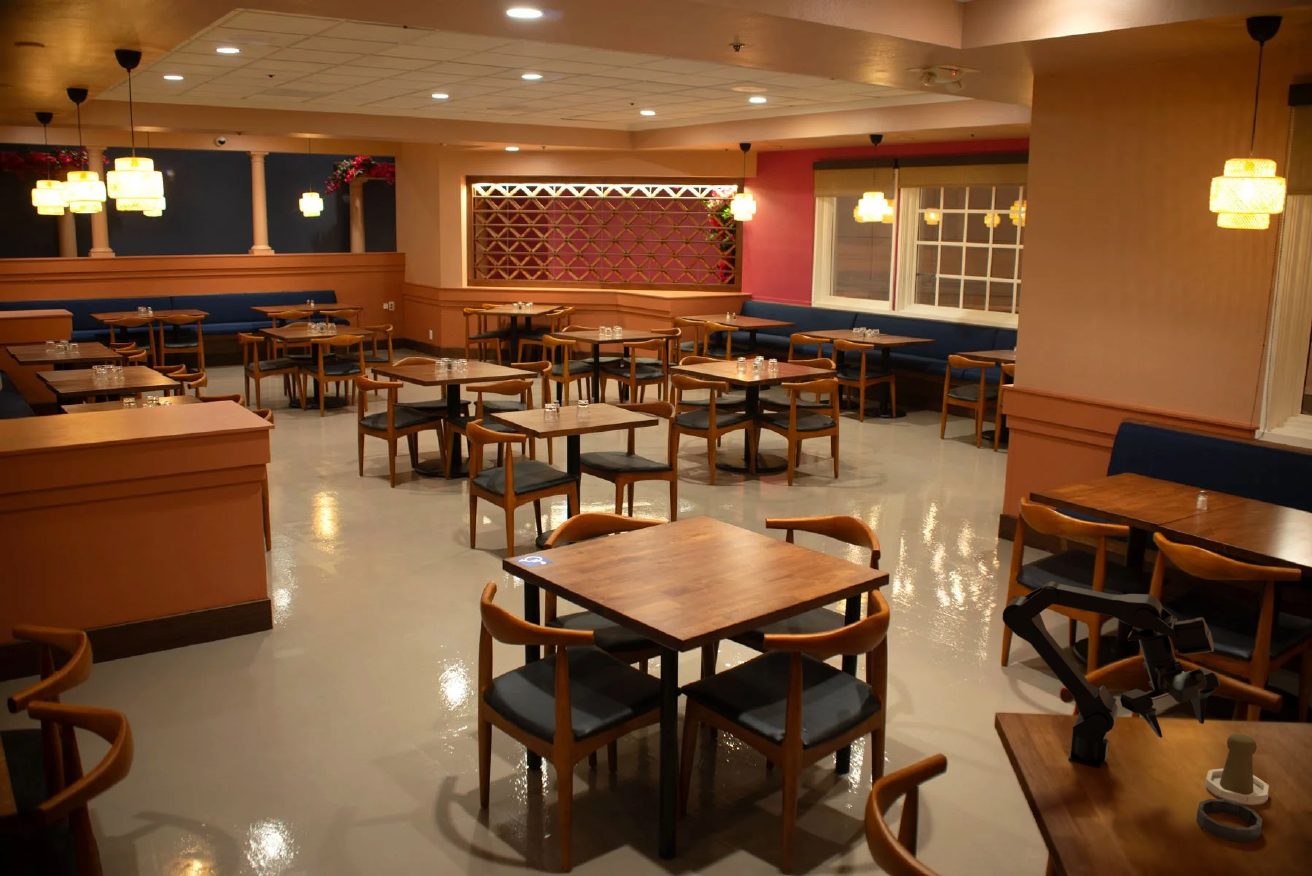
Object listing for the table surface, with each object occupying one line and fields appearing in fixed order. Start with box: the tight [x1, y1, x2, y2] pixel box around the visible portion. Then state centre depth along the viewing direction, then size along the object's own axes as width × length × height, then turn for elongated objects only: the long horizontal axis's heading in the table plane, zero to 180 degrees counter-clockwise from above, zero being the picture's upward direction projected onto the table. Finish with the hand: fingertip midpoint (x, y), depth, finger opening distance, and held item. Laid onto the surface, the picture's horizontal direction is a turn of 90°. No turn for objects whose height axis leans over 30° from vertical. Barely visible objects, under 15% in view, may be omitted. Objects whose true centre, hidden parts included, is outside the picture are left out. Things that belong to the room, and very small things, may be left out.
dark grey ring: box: [1195, 798, 1263, 843], centre depth 199 cm, size 11×11×2 cm
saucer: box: [1205, 767, 1270, 806], centre depth 212 cm, size 11×11×2 cm
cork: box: [1220, 732, 1258, 795], centre depth 211 cm, size 6×6×11 cm
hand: (1181, 730), depth 214 cm, fingers open, 9 cm apart
